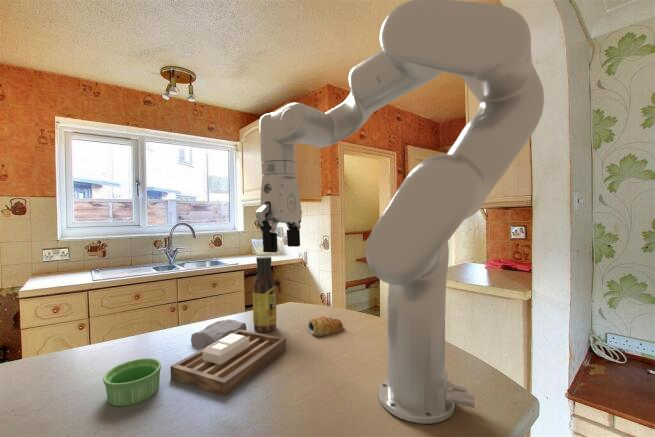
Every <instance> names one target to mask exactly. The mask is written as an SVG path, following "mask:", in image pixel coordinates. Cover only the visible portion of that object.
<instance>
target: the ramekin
mask: <svg viewBox="0 0 655 437" xmlns="http://www.w3.org/2000/svg"><path fill="white" fill-rule="evenodd" d="M161 370H162V363H161V361H160V360H159V359H156V358H150V357H145V358H143V357H142V358H138V359H132V360H128V361H125V362H122V363H121V364H118V365H116V366H114V367H112V368H110V369H109V370H108V371H107V372H106V373H105V374H104V375H103V377H102V380H103V383H104V386H105V392H106V398H107V402H108V403H109V404H111V405H112V406H113V407H114V406H115V407H126V406H132V405H135V404H139V403H140V402H143V401H145V400H147V399H149V398H151V397H152V396H153V395H154V394H155V393H156V392H157V391H158V389H159V388H160V379H161V378H160V374H161Z"/></svg>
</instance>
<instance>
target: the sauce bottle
mask: <svg viewBox="0 0 655 437" xmlns="http://www.w3.org/2000/svg"><path fill="white" fill-rule="evenodd" d="M255 260H256V272H257V273H256V276H255V277H254V280H253V284H252V287H253V288H252V290H253V291H252V318H253V320H252V321H253V329H254V331H255V332H256V333H268V332H272V331H274V330H275V329H276V328H277V285H276V281H275V279H274V275H273V274H272V256H269V255H264V256H257V257H256V259H255Z"/></svg>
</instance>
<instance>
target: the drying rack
mask: <svg viewBox="0 0 655 437" xmlns="http://www.w3.org/2000/svg"><path fill="white" fill-rule="evenodd" d="M233 334H238V335H242V336H246V337H247V338H249V347H248V348H246V349H244V350H243V351H241V352H240V353H238V354H237V355H235V356H234V357H232V358H230V359H229V360H227V361H226V362H224V363H223V364H221V365H219V364H216V363H212V362H209V361H205V360H203V355H202V351H203V350H204V349H205V348H206V347H205V348H203V349H200V350H197V351H196V352H195V353H194V352H193V353H192V354H190V355H188V356H187V357H185V358H183V359H181V360H179V361H177V362H175V363H174V364H172V365H170V369H169V370H170V379H171V380H174V381H176V382H180V383H183V384H186V385H189V386H192V387H194V388H199V389H200V390H201V389H202V390H204V391H208V392H211V393H214V394H216V395H219V396H221V397H222V396H223V397H226V396H228V394H230V393H231V392H232V391H234V390H235V389H237V388H238V387H239V386H240V385H242V384H243V383H245V382H246V380H248V379H250V378H251V377H252V376H253V375H254V374H256V373H257V372H258V371H260V370H261V369H262V368H264V367H265V366H266V365H267V364H269V363H271V361H273V360H274V359H276V358H277V357H278V356H279V355H280V354H282V353H284V352H285V350H287V338H284V337H279V336H274V335H271V334H270V335H269V334H263V333H262V332H257V331H255V332H254V331H249V330H241V329H239V330H237V331H235V332H233Z"/></svg>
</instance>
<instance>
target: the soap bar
mask: <svg viewBox="0 0 655 437" xmlns="http://www.w3.org/2000/svg"><path fill="white" fill-rule="evenodd" d="M248 347H249V338H247V337H246V336H242V335H238V334H233V333H231V334H229V335H228V336H226V337H224V338H222V339H220V340H218V341H216V342H215V343H213V344H211V345H209V346H207V347H206V348H205V349H204V350H203V351H202V355H203V360H205V361H209V362H212V363H216V364H219V365H221V364H223V363H224V362H226V361H227V360H229V359H230V358H232V357H234V356H235V355H237V354H238V353H240V352H241V351H243V350H244V349H246V348H248Z"/></svg>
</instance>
